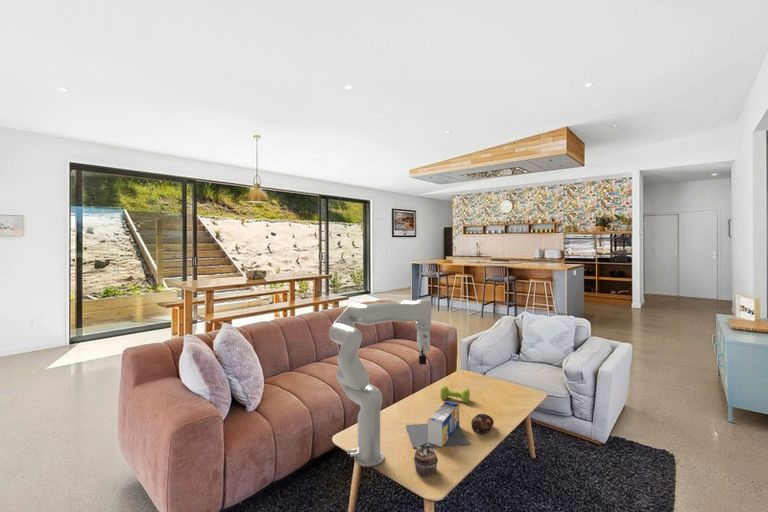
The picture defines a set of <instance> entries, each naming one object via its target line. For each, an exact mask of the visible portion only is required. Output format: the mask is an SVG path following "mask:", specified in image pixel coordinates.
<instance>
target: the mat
mask: <svg viewBox="0 0 768 512" xmlns="http://www.w3.org/2000/svg"><path fill="white" fill-rule="evenodd" d="M405 428H406V431H407V434H408V437H409V440H410V442H411V445H412V449H415V450H417V447H418V446H419V445H422V444H424V443H427V444H428V445H429V446H430V447H433V448H443V447H444V448H445V446H446V447H456V446H471V443H470V441H469V439H468V438H467V436H466V434H465V433H464V431H463V430H462V428H461V426H460V425H459V426H458V428H457V429H456V430H455V431H454V433H453V434H452V435H451V436H450V438H449V439H448V440H447V441H446V443H445V444H444V445H443V446H442V447H440V446H437V445H434V444H431V443H428V423H414V424H406V425H405Z"/></svg>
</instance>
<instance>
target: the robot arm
mask: <svg viewBox="0 0 768 512" xmlns="http://www.w3.org/2000/svg"><path fill="white" fill-rule="evenodd" d="M390 322H393V323H394V322H395V323H397V322H398V323H399V322H414V326H415V327H414V329H415V330H417V331H416V346H417V348H418V364H419V365H426V364H427V351H428V352H430V351H431V332H430V330H432V301H431V299H428V298H418V299H404V300H403V301H401V302H400V303H398V302H392V301H391V302H390V301H385V302H377V303H369V304H367V303H366V304H365V303H362V302H353V303H351V304H349V305H348V306H347V307H345V309H344V310H343V311H342V313H340V314H339V316H338V317H337V318H336V320H335V321H333V322H332V325H331V326H330V327H329V331H328V337H329V339H330V340H331V341H332V342H333V343H335V344H337V345H340V347H339V350H338V353H337V358H336V360H337V361H336V362H337V364H338V366H337V368H336V372H335V376H336V377H335V378H336V380H337V381H338V384H339V385H340V387H341V388H342V390H343V392H344V393H345V395H346V396H347V398H348V399H349V400H351V401H352V402H354V403H355V404H357V405H358V406H359V407H360V410H359V411H358V415H357V445H356V447H354V448H348V449H346V450H347V451H346V452H347V453H346V454H347V455H350V457H352V458H353V457H354V458H353V459H354V461H355V463H356V464H357V465H358V466H361V467H365V468H372V467H376V466H378V465H381V464H382V463H383V462H384V459H385V455H384V454H385V453H384V452H383V451H382V450H381V411H382V410H381V409H382V403H383V395H382V392H381V390H380V389H379V388H378V387H377V386H376V385H373V384H372V383H370V376H369V373H368V371H367V370H366V368H365V366H364V364H363V363H362V360H361V358H360V357H359V349H360V346H361V344H362V342H363V341H362V339H363V335H362V332H361V330H360V329H358V328H357V327H355V325H356V324H360V325H362V326H370V325H376V324H383V323H384V324H385V323H390ZM371 466H372V467H371Z"/></svg>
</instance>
